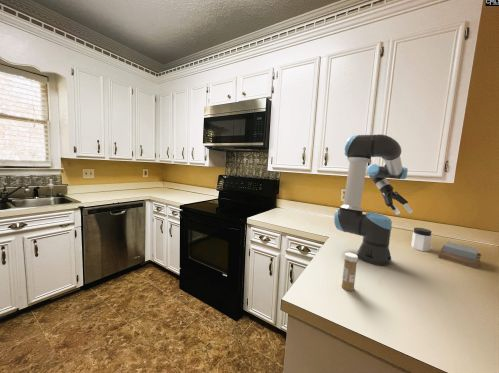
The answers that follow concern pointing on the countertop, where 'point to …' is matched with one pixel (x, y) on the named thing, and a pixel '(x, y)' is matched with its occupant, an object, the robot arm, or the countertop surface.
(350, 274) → the sprinkles bottle
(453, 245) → the grey top brick
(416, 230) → the jar
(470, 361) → the countertop surface
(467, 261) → the walnut base brick
